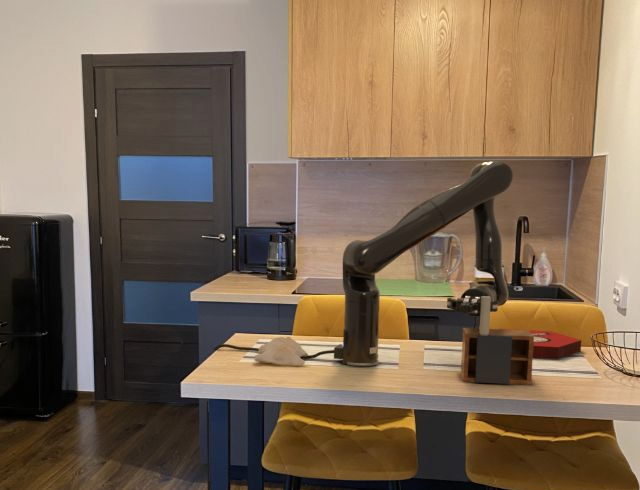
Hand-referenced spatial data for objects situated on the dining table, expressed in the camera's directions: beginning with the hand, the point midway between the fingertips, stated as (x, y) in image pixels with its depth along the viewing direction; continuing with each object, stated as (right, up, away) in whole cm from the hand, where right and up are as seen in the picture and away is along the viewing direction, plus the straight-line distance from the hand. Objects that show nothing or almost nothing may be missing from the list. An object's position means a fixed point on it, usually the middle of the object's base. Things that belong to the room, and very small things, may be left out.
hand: (465, 309), depth 175 cm
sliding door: (+8, -18, +4) cm, 20 cm away
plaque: (+30, -12, +47) cm, 57 cm away
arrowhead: (-43, -13, +35) cm, 57 cm away
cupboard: (+10, -18, +9) cm, 22 cm away
